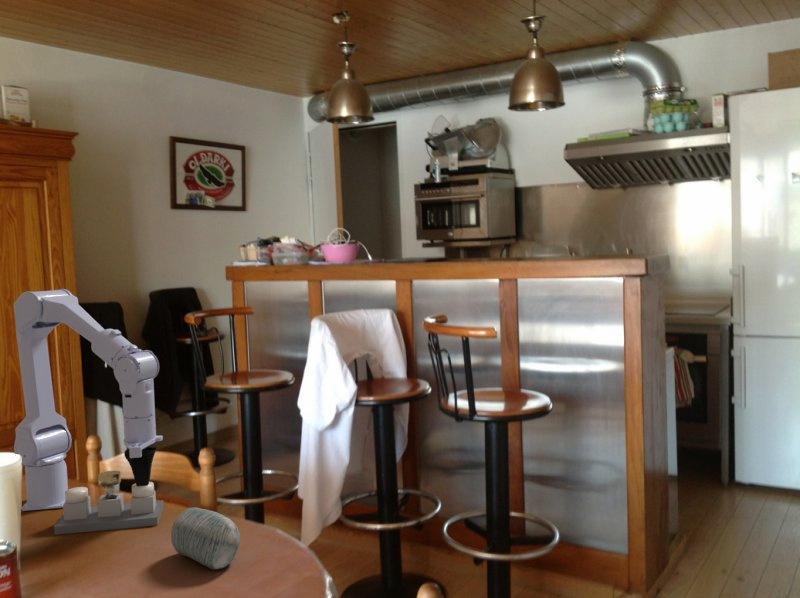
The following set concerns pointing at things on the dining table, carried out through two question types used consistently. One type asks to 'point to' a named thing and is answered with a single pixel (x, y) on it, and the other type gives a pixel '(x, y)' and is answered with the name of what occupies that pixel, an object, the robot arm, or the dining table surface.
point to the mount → (109, 514)
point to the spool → (205, 537)
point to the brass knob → (109, 482)
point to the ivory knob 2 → (143, 490)
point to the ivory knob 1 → (76, 495)
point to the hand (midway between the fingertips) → (142, 485)
